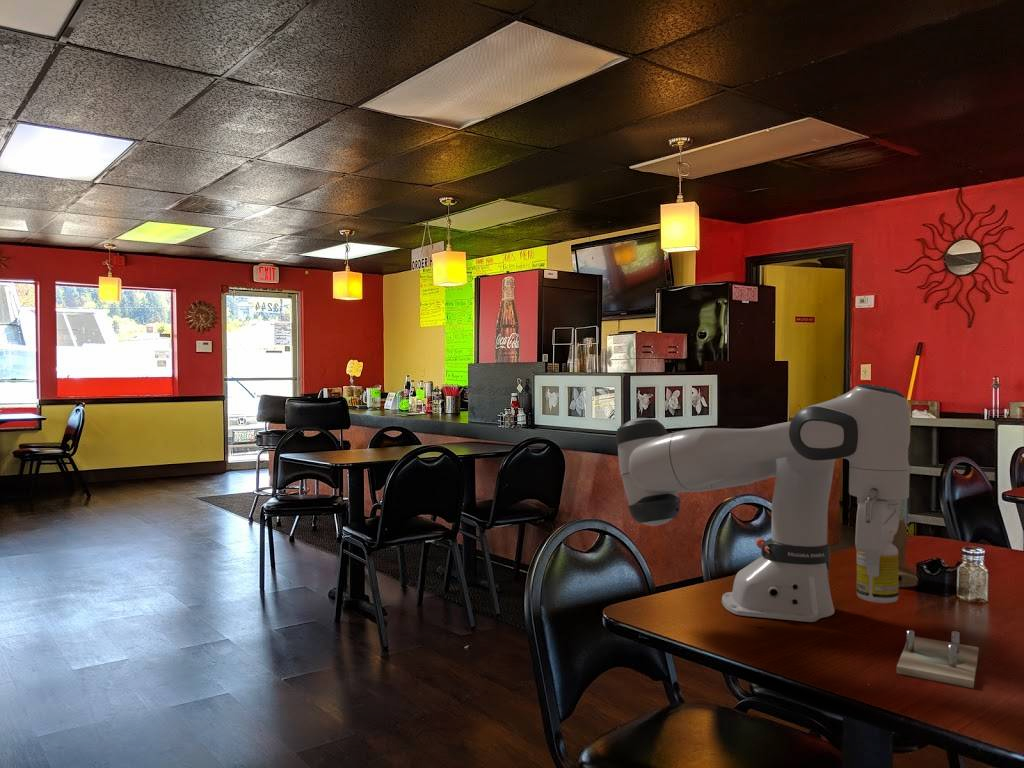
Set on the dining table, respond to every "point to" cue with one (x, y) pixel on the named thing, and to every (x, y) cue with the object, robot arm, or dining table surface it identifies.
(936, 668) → the light wood flat board
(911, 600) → the dining table surface
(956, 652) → the header pins
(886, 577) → the pill bottle
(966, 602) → the dining table surface
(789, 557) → the robot arm
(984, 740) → the dining table surface
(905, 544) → the tan boot
